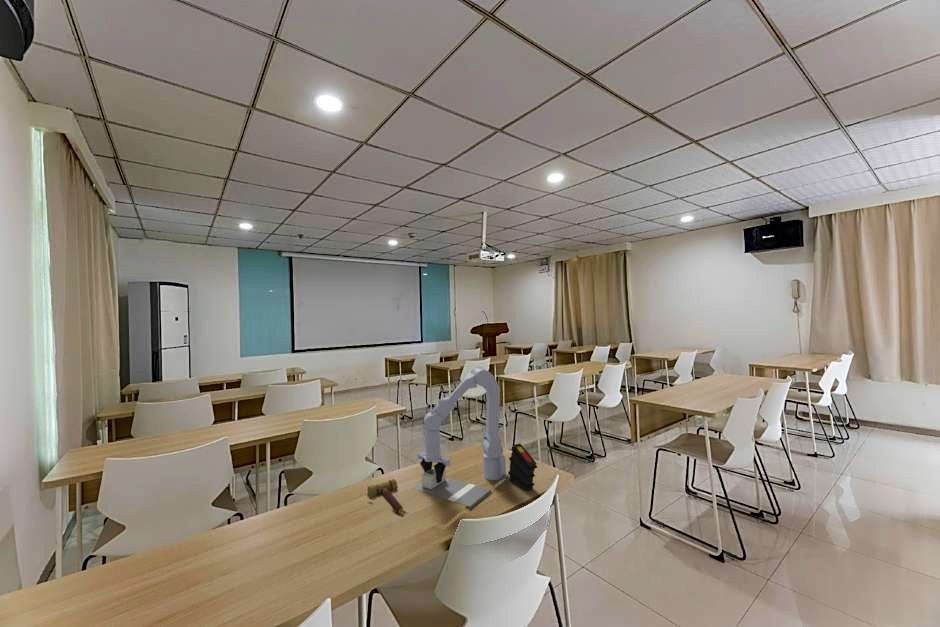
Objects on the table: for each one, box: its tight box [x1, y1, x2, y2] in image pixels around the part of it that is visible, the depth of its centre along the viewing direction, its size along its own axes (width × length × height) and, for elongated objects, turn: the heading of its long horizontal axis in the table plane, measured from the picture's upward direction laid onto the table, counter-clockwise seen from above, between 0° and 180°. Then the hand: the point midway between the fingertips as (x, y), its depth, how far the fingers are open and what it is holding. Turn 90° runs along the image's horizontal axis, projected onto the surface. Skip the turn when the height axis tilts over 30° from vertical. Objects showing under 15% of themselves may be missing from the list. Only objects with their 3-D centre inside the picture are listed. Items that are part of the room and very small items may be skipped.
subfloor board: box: [411, 476, 492, 510], centre depth 142 cm, size 14×26×1 cm, turn 56°
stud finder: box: [421, 467, 447, 489], centre depth 146 cm, size 9×4×5 cm, turn 146°
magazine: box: [507, 442, 538, 492], centre depth 145 cm, size 4×13×15 cm, turn 30°
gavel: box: [367, 478, 405, 516], centre depth 135 cm, size 21×5×10 cm
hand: (434, 480), depth 146 cm, fingers closed on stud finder, 4 cm apart
